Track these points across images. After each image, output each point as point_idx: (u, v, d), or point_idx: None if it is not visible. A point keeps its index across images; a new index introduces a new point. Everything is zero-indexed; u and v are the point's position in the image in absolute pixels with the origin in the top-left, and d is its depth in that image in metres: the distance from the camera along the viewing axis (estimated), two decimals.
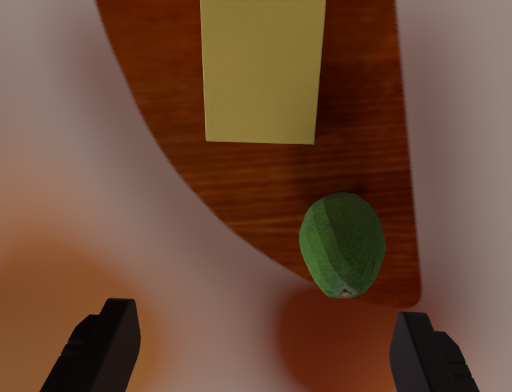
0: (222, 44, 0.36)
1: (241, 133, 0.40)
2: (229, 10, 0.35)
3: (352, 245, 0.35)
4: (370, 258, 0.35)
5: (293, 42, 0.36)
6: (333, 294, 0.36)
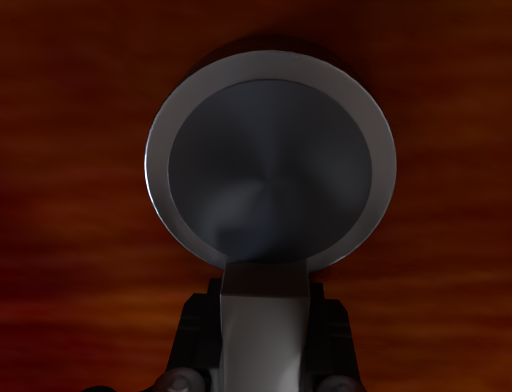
0: None
1: None
2: None
3: None
4: None
5: None
6: None
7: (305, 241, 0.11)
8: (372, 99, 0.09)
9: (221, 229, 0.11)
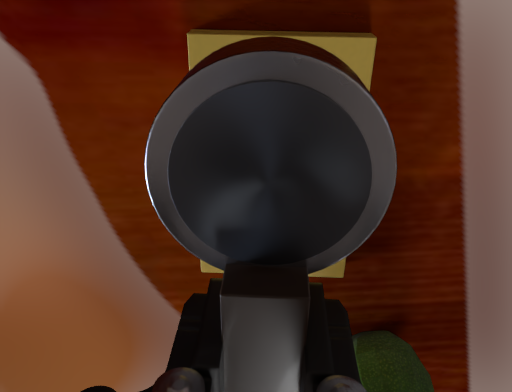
0: None
1: None
2: None
3: None
4: None
5: None
6: None
7: (305, 242, 0.11)
8: (372, 100, 0.09)
9: (221, 230, 0.11)
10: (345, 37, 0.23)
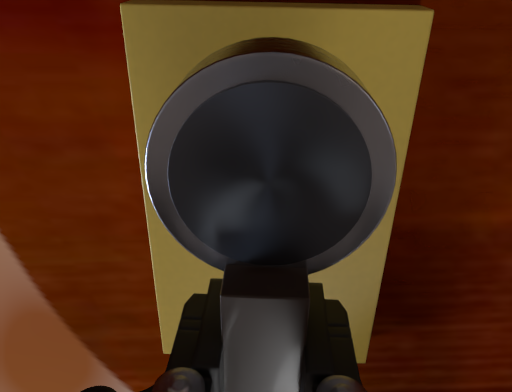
0: None
1: None
2: None
3: None
4: None
5: None
6: None
7: (305, 242, 0.11)
8: (372, 101, 0.09)
9: (221, 230, 0.11)
10: (381, 9, 0.14)
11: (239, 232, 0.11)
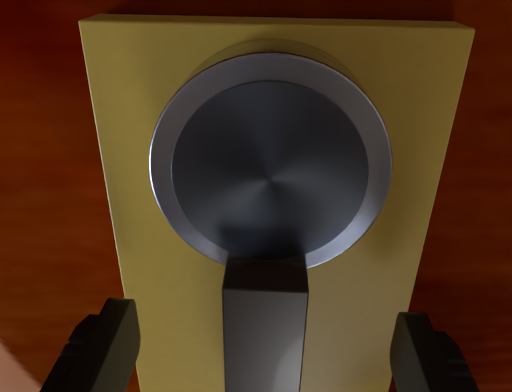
0: (167, 257, 0.14)
1: None
2: None
3: None
4: None
5: (345, 257, 0.14)
6: None
7: (304, 238, 0.11)
8: (368, 100, 0.10)
9: (222, 226, 0.11)
10: (408, 28, 0.11)
11: (240, 227, 0.11)
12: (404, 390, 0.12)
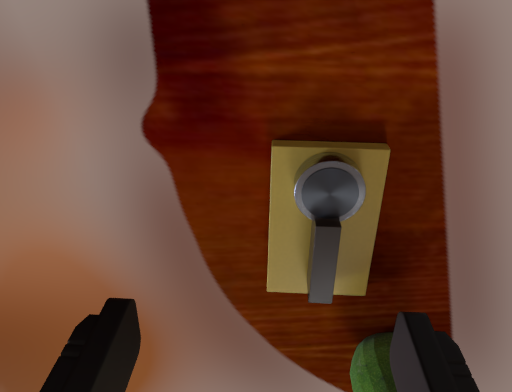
0: (287, 220, 0.40)
1: (299, 286, 0.44)
2: None
3: None
4: None
5: (351, 220, 0.40)
6: None
7: (339, 211, 0.37)
8: (358, 172, 0.35)
9: (314, 208, 0.37)
10: (371, 149, 0.37)
11: (320, 208, 0.37)
12: (404, 390, 0.12)
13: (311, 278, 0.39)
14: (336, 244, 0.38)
